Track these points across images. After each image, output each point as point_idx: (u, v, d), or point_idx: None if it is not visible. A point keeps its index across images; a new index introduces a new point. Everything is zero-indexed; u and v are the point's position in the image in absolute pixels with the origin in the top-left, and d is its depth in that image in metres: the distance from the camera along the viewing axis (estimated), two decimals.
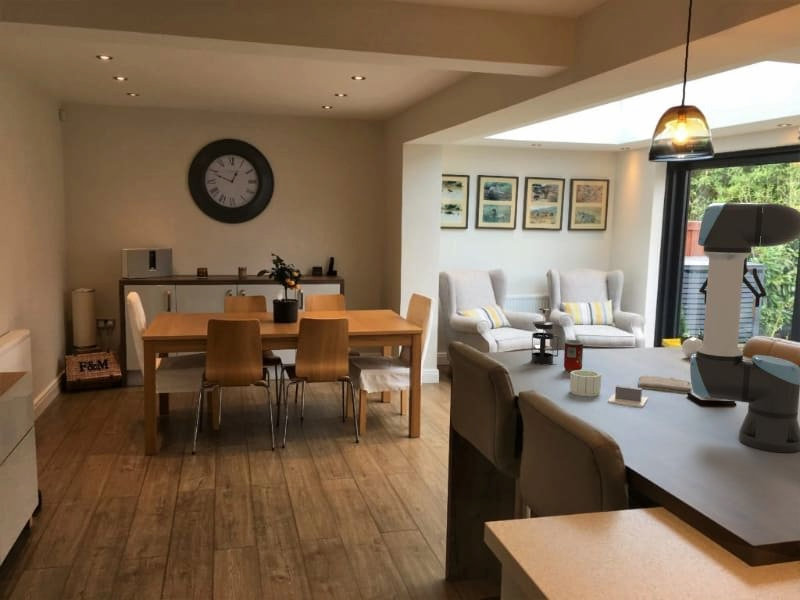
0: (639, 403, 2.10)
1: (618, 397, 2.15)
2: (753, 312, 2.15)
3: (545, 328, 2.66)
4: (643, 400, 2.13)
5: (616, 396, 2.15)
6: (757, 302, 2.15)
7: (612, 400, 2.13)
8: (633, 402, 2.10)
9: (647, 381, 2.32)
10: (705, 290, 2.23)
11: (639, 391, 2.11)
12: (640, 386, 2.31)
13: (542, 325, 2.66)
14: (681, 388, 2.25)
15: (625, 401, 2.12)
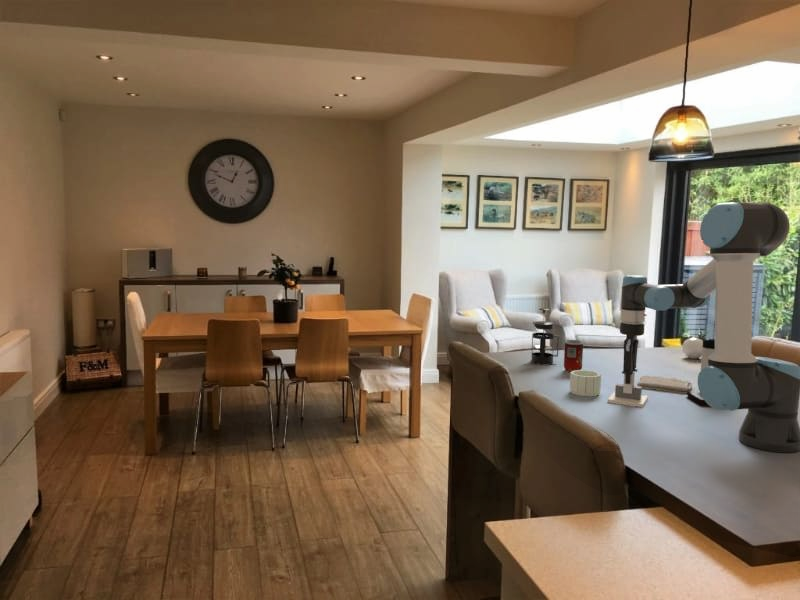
0: (639, 401, 2.10)
1: (618, 395, 2.15)
2: None
3: (545, 328, 2.66)
4: (643, 399, 2.13)
5: (616, 394, 2.15)
6: None
7: (612, 398, 2.13)
8: (633, 400, 2.11)
9: (647, 381, 2.32)
10: None
11: (639, 390, 2.11)
12: None
13: (542, 325, 2.66)
14: (680, 388, 2.25)
15: (625, 399, 2.12)
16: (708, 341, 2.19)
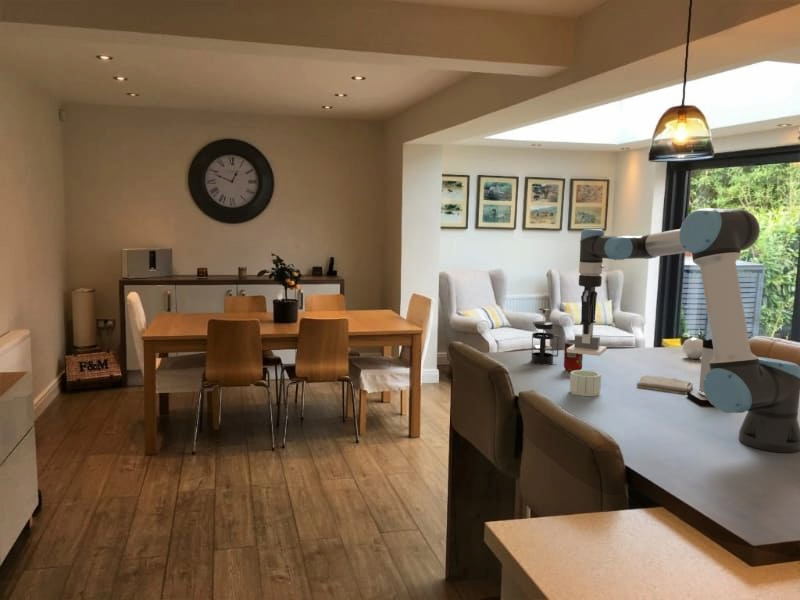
0: (596, 350, 2.18)
1: (577, 346, 2.23)
2: None
3: (545, 328, 2.66)
4: (601, 348, 2.21)
5: (575, 345, 2.23)
6: None
7: (571, 348, 2.21)
8: (591, 350, 2.19)
9: (646, 381, 2.33)
10: None
11: (597, 339, 2.19)
12: (639, 385, 2.32)
13: (542, 325, 2.66)
14: (679, 388, 2.25)
15: (583, 349, 2.20)
16: (708, 341, 2.19)
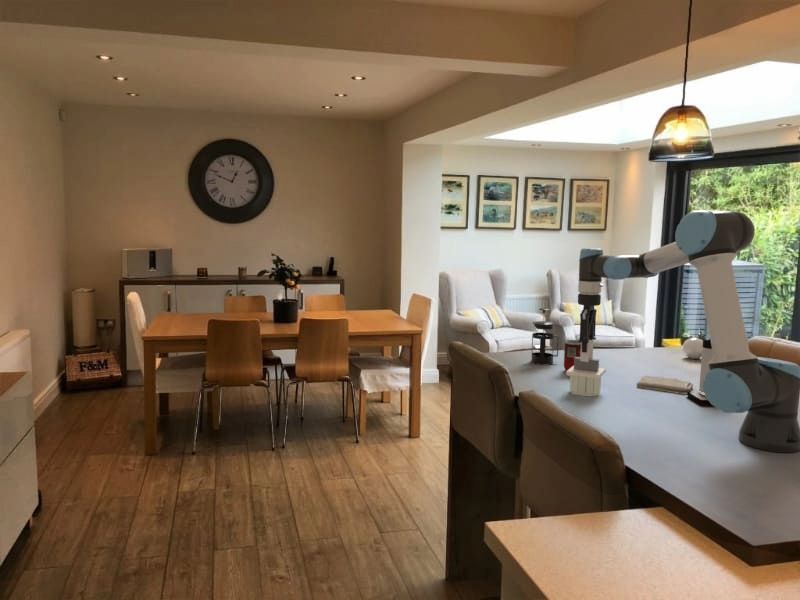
0: (596, 373, 2.19)
1: (576, 368, 2.24)
2: None
3: (545, 328, 2.66)
4: (600, 371, 2.22)
5: (575, 367, 2.24)
6: None
7: (570, 371, 2.22)
8: (590, 372, 2.19)
9: (646, 381, 2.33)
10: (588, 334, 2.26)
11: (596, 362, 2.20)
12: (639, 385, 2.32)
13: (542, 325, 2.66)
14: (679, 388, 2.25)
15: (583, 371, 2.21)
16: (708, 341, 2.19)
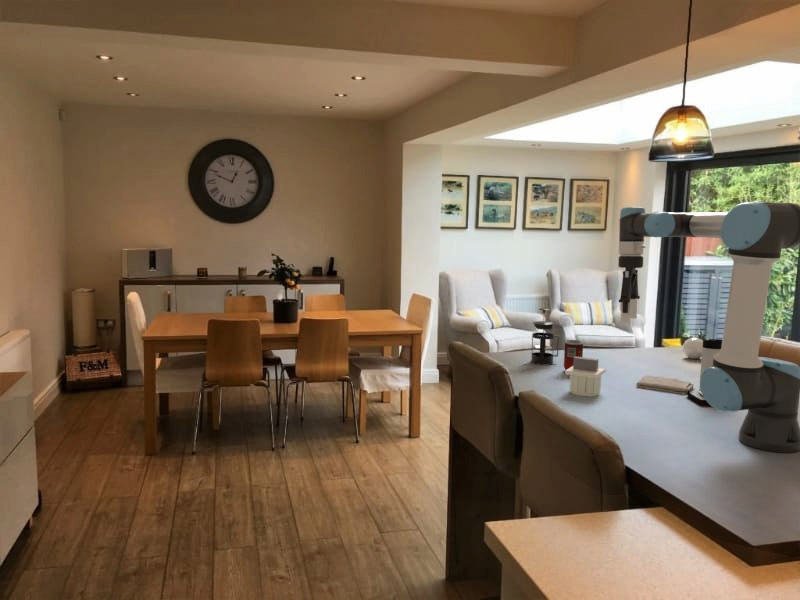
0: (594, 373, 2.19)
1: (576, 368, 2.24)
2: None
3: (545, 328, 2.66)
4: (599, 371, 2.22)
5: (574, 367, 2.25)
6: None
7: (569, 370, 2.22)
8: (589, 372, 2.20)
9: (646, 381, 2.33)
10: None
11: (595, 362, 2.20)
12: (638, 385, 2.32)
13: (542, 325, 2.66)
14: (678, 389, 2.25)
15: (581, 371, 2.21)
16: (708, 341, 2.19)
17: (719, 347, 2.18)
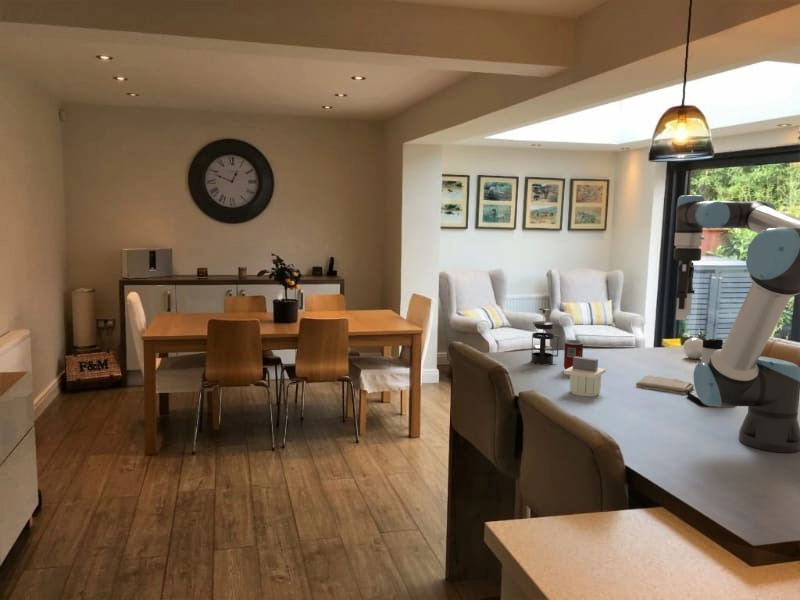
0: (593, 373, 2.19)
1: (575, 367, 2.25)
2: (676, 314, 1.90)
3: (545, 328, 2.66)
4: (599, 371, 2.22)
5: (573, 366, 2.25)
6: (679, 303, 1.89)
7: (568, 370, 2.23)
8: (588, 372, 2.20)
9: (646, 381, 2.33)
10: None
11: (594, 362, 2.20)
12: (638, 385, 2.32)
13: (542, 325, 2.66)
14: (677, 388, 2.24)
15: (580, 371, 2.21)
16: (708, 341, 2.19)
17: (719, 347, 2.18)
